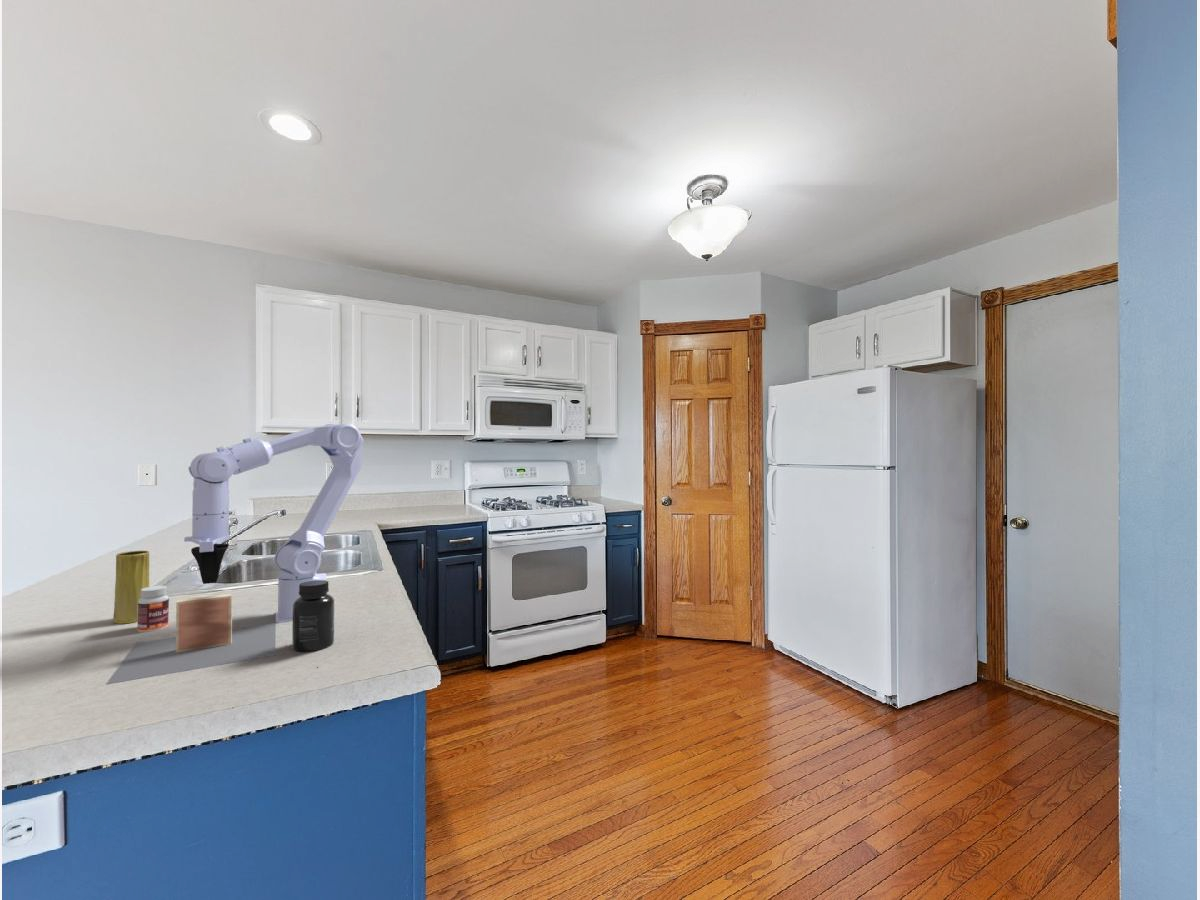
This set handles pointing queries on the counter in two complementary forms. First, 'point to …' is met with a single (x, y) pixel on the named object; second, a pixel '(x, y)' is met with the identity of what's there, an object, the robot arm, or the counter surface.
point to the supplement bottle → (313, 617)
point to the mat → (195, 654)
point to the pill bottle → (153, 609)
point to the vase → (130, 584)
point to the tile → (203, 622)
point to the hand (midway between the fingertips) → (210, 582)
